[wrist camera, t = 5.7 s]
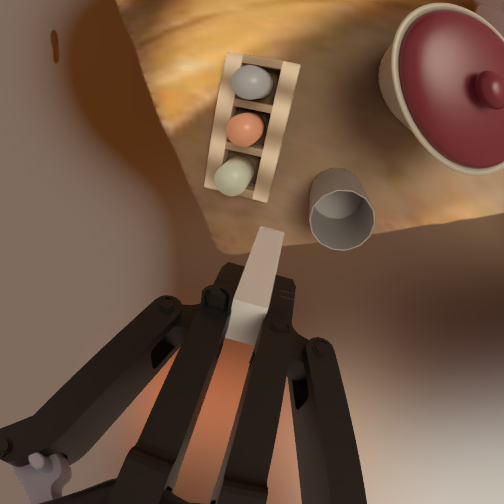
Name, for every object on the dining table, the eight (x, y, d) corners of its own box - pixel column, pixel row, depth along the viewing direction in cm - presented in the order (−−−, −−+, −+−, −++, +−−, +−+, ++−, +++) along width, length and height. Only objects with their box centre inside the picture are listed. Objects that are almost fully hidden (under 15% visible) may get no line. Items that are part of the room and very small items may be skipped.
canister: (415, 12, 22) (486, -28, 4) (481, 108, 26) (571, 138, 9) (333, 69, 31) (358, 44, 13) (408, 165, 36) (475, 229, 18)
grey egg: (244, 66, 30) (234, 62, 26) (276, 72, 30) (271, 68, 26) (238, 95, 33) (228, 96, 29) (270, 101, 33) (264, 102, 28)
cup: (364, 170, 38) (379, 192, 30) (360, 218, 42) (370, 251, 34) (310, 166, 39) (309, 188, 31) (309, 215, 44) (307, 248, 36)
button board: (232, 54, 32) (227, 52, 30) (301, 67, 31) (300, 64, 29) (210, 181, 44) (204, 187, 41) (269, 195, 43) (267, 202, 41)
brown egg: (238, 109, 36) (229, 111, 31) (268, 115, 35) (263, 118, 31) (233, 137, 38) (223, 143, 34) (262, 143, 38) (256, 150, 34)
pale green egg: (227, 152, 38) (216, 161, 34) (257, 159, 37) (250, 168, 33) (222, 180, 40) (212, 191, 36) (251, 187, 40) (243, 199, 36)
